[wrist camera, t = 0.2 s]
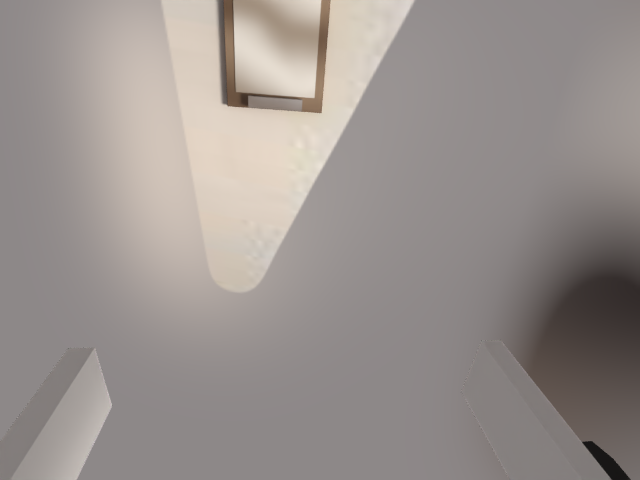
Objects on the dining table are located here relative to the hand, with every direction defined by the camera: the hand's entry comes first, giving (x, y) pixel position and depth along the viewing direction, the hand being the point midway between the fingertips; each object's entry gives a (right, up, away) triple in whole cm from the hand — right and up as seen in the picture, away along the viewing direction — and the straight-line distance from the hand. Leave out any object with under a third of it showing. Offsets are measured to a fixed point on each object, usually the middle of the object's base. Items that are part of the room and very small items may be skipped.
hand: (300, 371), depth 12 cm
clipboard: (-3, +24, +18) cm, 30 cm away
